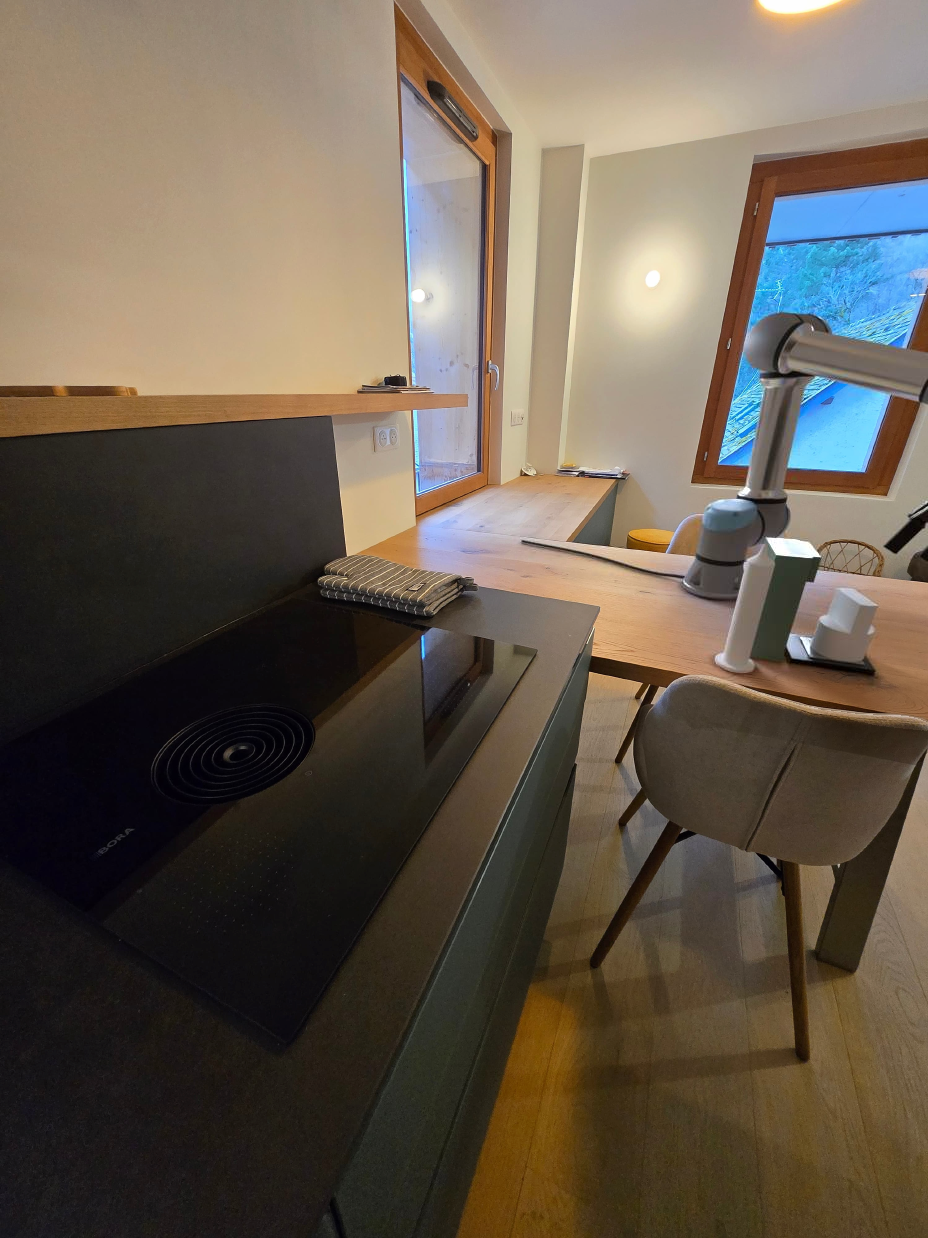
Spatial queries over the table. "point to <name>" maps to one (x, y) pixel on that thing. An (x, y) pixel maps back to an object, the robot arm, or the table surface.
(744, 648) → the candle
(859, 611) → the base with upright slab
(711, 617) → the table surface
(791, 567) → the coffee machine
